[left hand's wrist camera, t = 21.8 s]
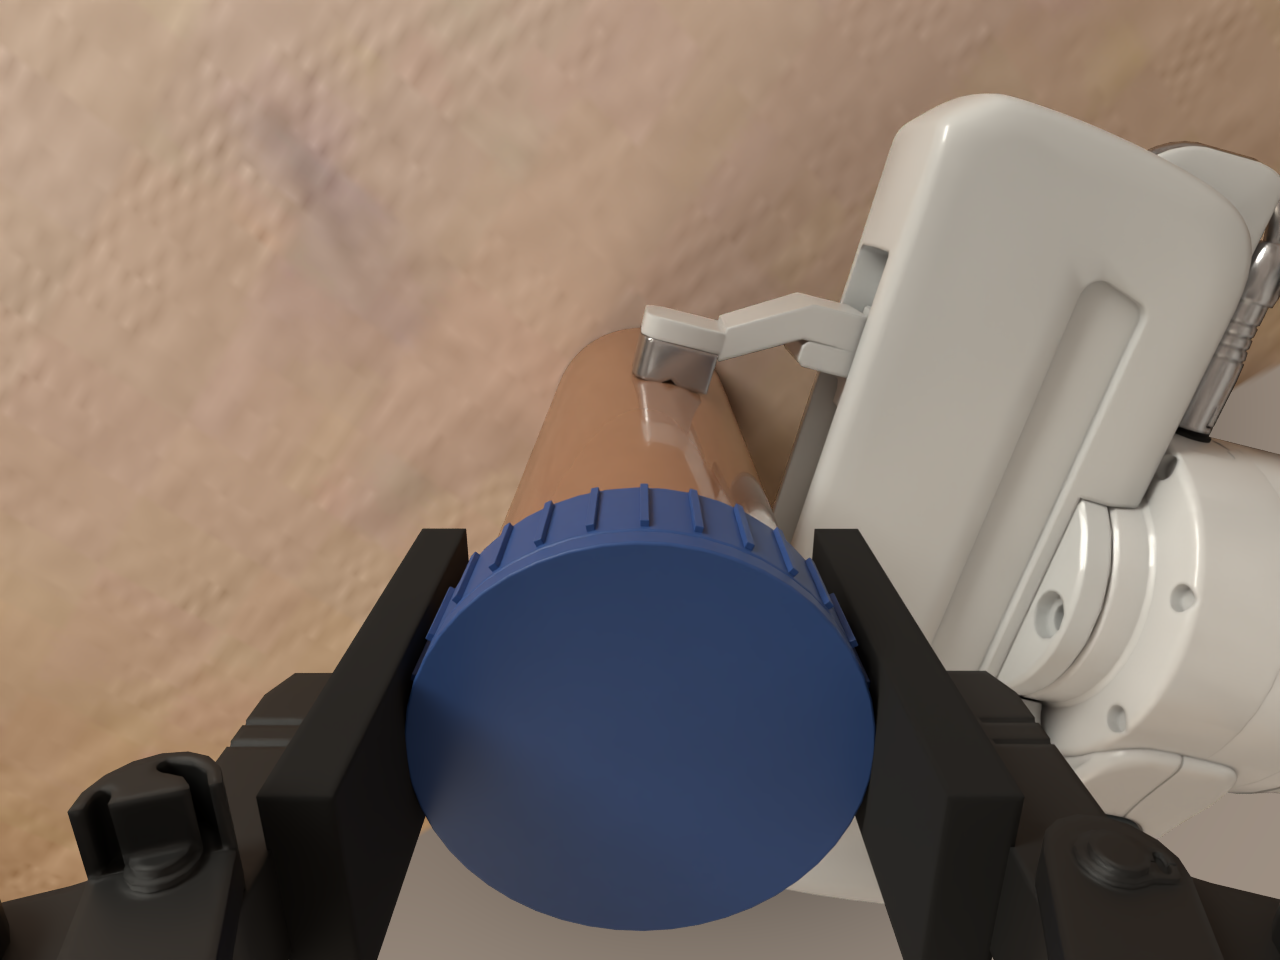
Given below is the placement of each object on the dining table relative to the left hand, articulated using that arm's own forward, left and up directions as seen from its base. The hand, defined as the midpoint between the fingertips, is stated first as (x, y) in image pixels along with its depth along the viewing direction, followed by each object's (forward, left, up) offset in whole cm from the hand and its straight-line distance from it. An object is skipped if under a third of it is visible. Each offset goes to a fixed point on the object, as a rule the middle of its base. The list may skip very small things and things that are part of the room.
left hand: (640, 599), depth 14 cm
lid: (0, 0, +4) cm, 4 cm away
